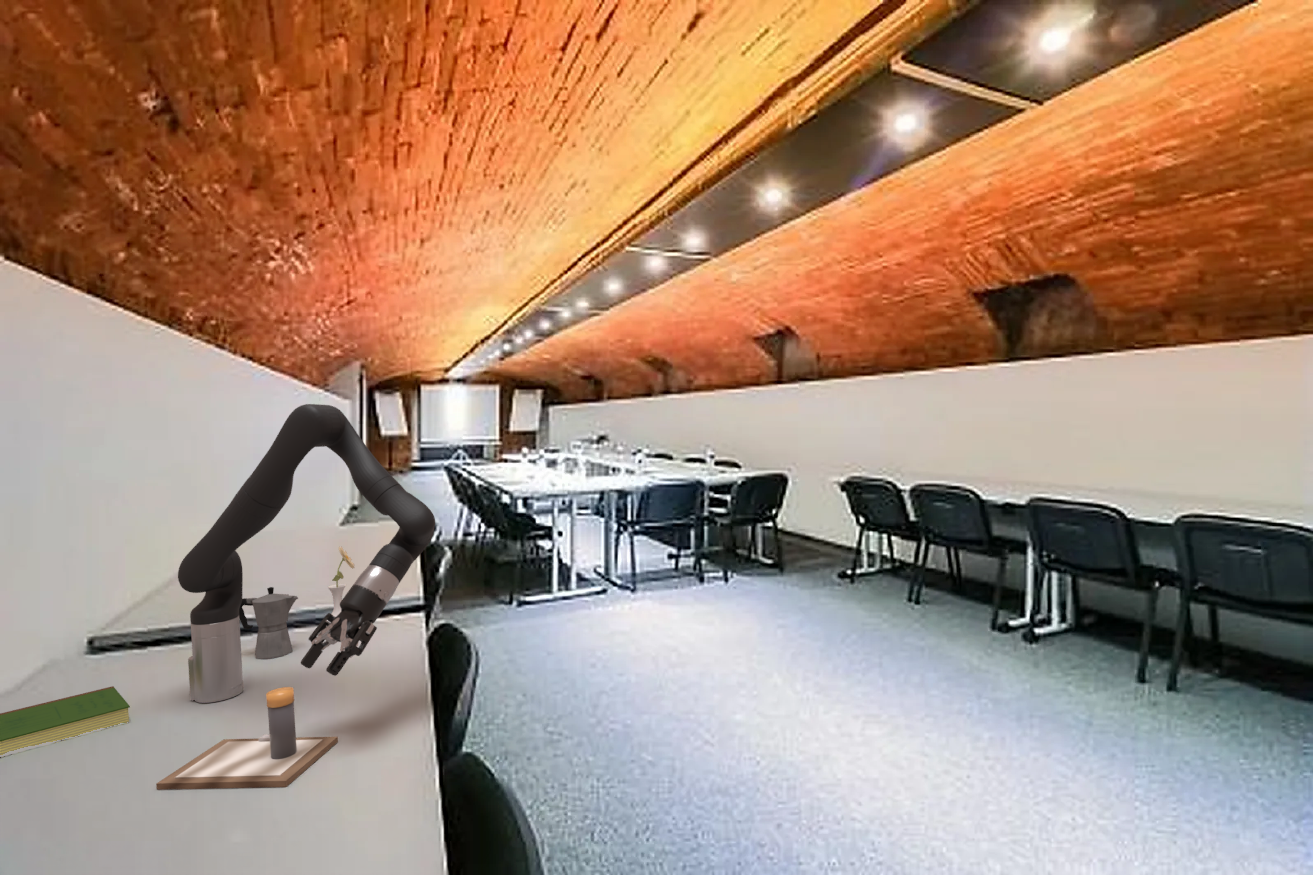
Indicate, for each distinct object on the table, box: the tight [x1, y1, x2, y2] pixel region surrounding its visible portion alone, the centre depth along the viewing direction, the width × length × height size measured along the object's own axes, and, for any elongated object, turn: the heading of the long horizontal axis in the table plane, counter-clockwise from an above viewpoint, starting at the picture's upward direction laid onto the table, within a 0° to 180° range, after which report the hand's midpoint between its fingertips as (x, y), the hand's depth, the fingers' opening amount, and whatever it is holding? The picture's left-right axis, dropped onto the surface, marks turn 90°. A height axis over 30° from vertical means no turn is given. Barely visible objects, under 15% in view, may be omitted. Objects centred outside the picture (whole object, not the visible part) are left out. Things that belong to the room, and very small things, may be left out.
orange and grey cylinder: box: [265, 686, 297, 759], centre depth 120 cm, size 4×4×11 cm
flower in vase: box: [319, 546, 355, 634], centre depth 202 cm, size 13×11×25 cm
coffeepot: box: [239, 586, 299, 660], centre depth 183 cm, size 15×9×18 cm, turn 103°
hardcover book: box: [0, 685, 131, 755], centre depth 138 cm, size 25×19×4 cm
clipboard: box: [155, 733, 339, 791], centre depth 119 cm, size 22×16×2 cm
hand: (317, 669), depth 125 cm, fingers open, 8 cm apart
